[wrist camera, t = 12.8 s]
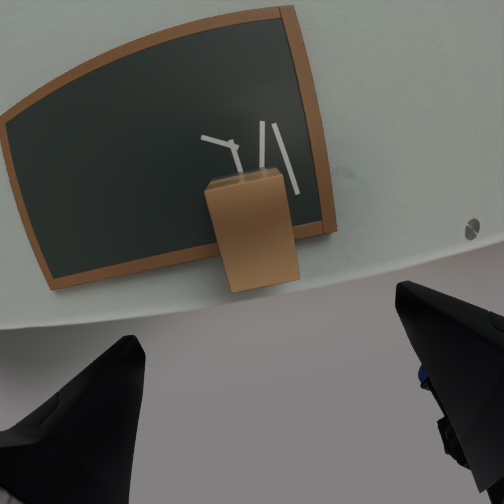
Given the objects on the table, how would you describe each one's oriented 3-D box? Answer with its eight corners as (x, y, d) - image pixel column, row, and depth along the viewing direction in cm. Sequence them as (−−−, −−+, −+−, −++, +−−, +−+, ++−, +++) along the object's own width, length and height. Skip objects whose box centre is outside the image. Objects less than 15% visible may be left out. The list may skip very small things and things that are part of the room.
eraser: (290, 251, 20) (300, 279, 16) (233, 262, 20) (231, 293, 17) (274, 164, 18) (283, 174, 14) (211, 178, 18) (203, 191, 14)
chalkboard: (333, 226, 21) (337, 231, 20) (56, 285, 22) (50, 291, 21) (291, 10, 14) (293, 4, 13) (3, 117, 15) (-4, 118, 14)
